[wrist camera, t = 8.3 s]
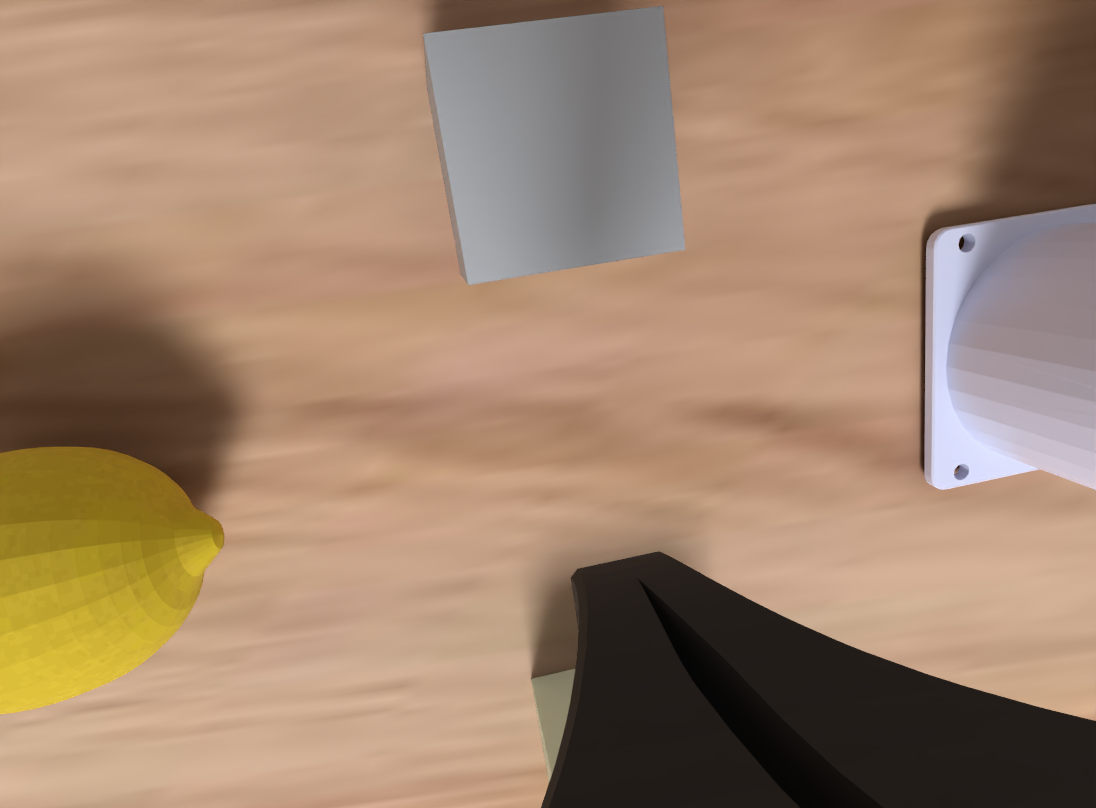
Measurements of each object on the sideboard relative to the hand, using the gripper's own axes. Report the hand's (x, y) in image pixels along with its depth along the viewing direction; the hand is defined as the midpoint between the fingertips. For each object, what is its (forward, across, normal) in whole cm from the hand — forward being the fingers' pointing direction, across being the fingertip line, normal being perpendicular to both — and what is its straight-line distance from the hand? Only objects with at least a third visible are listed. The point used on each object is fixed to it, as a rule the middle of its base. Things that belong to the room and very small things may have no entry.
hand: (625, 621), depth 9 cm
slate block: (+10, -1, -7) cm, 12 cm away
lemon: (+7, +7, 0) cm, 10 cm away
